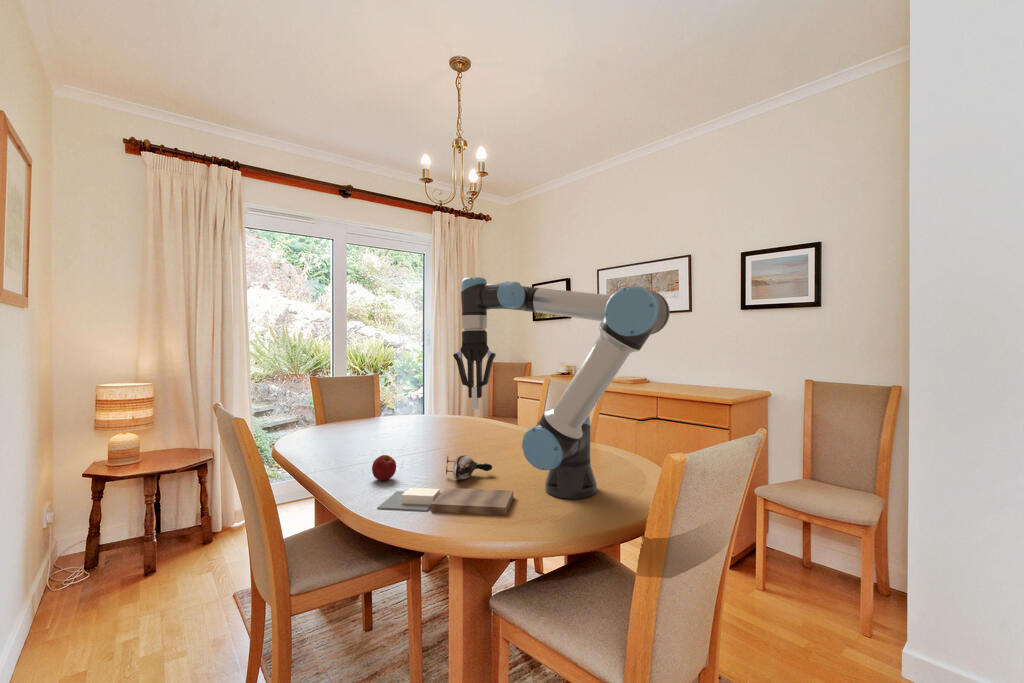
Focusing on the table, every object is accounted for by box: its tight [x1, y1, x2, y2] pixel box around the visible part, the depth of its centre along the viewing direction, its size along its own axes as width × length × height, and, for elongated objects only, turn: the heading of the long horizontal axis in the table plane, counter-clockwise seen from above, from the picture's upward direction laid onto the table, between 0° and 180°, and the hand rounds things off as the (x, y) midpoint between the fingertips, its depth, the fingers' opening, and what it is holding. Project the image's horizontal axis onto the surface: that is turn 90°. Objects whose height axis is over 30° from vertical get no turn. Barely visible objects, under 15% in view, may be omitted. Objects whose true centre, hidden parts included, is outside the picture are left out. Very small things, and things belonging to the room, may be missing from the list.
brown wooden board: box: [430, 487, 514, 516], centre depth 125 cm, size 20×13×2 cm, turn 81°
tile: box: [402, 487, 441, 505], centre depth 128 cm, size 9×6×2 cm, turn 81°
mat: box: [376, 490, 431, 512], centre depth 128 cm, size 14×13×1 cm
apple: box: [371, 454, 397, 482], centre depth 148 cm, size 8×8×8 cm
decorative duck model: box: [445, 454, 493, 481], centre depth 147 cm, size 15×8×15 cm
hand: (475, 408), depth 137 cm, fingers closed
